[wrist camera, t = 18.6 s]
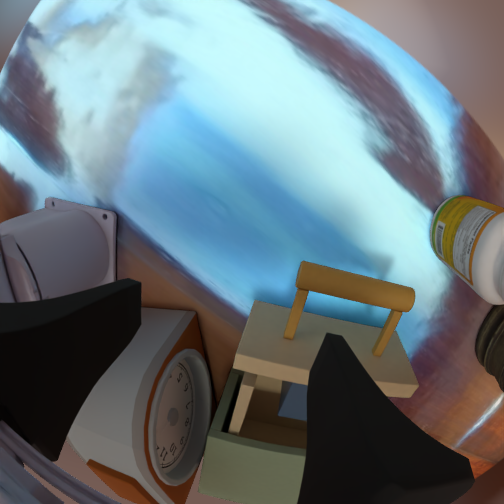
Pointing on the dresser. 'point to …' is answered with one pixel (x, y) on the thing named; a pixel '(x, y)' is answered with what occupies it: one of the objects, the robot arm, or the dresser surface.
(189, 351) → the alarm clock
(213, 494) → the cabinet
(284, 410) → the block
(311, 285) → the drawer
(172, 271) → the dresser surface
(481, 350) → the container
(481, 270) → the supplement bottle
